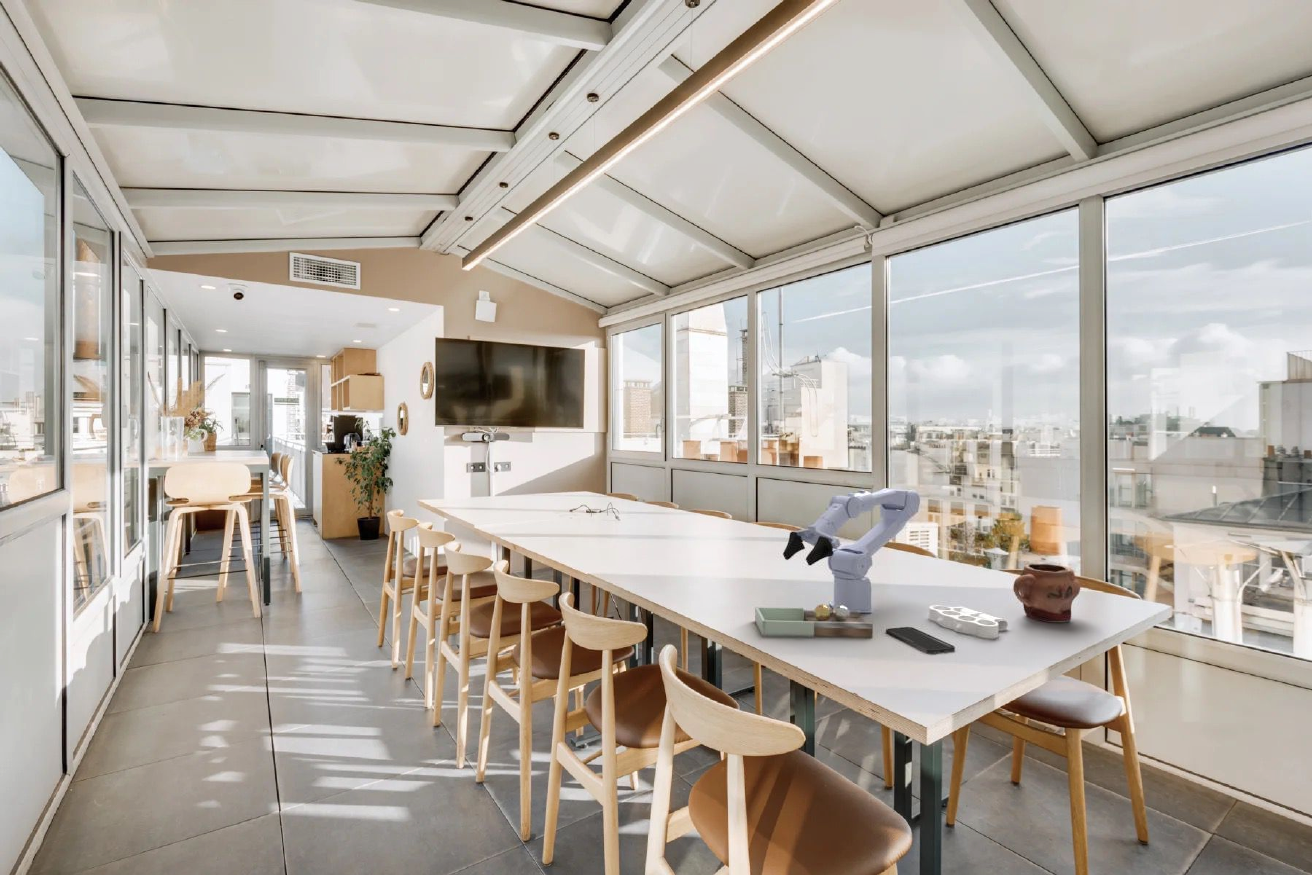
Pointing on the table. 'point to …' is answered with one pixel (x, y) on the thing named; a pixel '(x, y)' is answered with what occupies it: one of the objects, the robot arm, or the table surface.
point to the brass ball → (822, 613)
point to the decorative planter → (1047, 591)
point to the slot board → (840, 625)
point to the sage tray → (783, 622)
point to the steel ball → (841, 613)
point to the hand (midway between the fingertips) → (796, 559)
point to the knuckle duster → (967, 621)
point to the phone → (920, 640)
